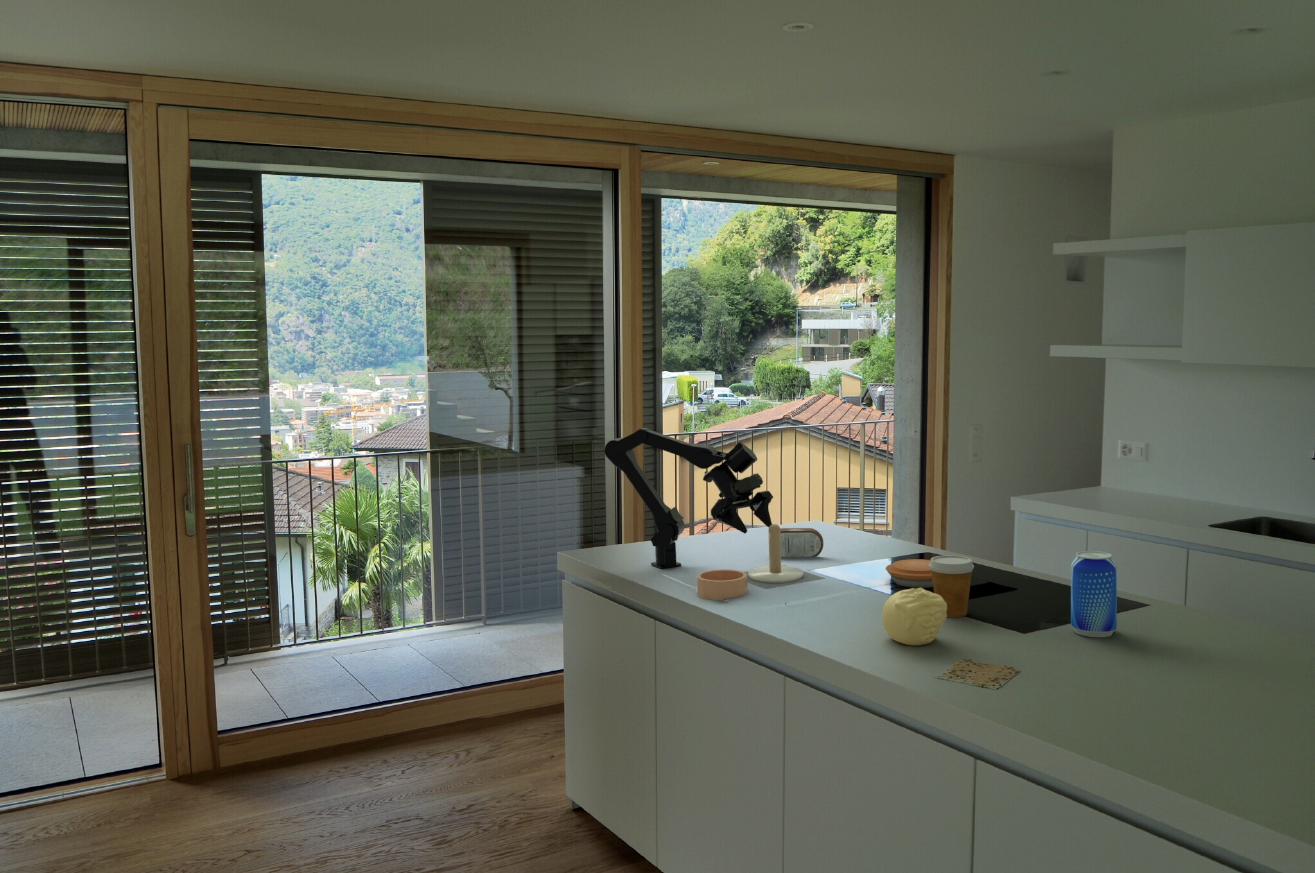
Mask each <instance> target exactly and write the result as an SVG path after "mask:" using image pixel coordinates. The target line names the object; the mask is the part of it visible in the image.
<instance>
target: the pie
mask: <svg viewBox="0 0 1315 873" xmlns="http://www.w3.org/2000/svg"><path fill="white" fill-rule="evenodd" d="M930 561H931V559H922V558H921V559H919V558H918V559H917V558H916V559H915V558H914V559H913V558H911V559H908V558H907V559H901V560H896V561H893V562H892V563H891V564H888V565H886V567H885V571H887V573H888V574H889V576H890V577H891V579H892V580H893V582H894V584H896V585H898V586H901V587H905V588H910V589H912V588H914V589H918V588H923V589H927V588H933V580H932V574H931V570H930V567H929V564H930Z"/></svg>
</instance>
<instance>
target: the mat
mask: <svg viewBox="0 0 1315 873" xmlns="http://www.w3.org/2000/svg"><path fill="white" fill-rule="evenodd" d="M781 566H787V565H786V564H784V565H782V564H781ZM748 571H749V570H748ZM748 571H743V572H744V573H746V574H747V584H751V585H753V586H757V587H759V588H762V589H765V590H767V589H774V588H777V587H784V586H790V585H795V584H796V585H797V584H801V583H807V582H812V581H818V580H824V579H825V580H826V578H825V577H823V576H820V575H818V574H817V575H816V574H814V573H810V572H808V571H804V570H802V571H803V578H802V579H800V580H797V581H793V582H786V583H763V582H757V581H753V580H751V579H749V577H748Z"/></svg>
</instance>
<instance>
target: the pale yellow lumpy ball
mask: <svg viewBox="0 0 1315 873" xmlns="http://www.w3.org/2000/svg"><path fill="white" fill-rule="evenodd" d="M946 611H947V604H946V602H945V601H944V599H943V598H942V597H941V596H940V595H938V594H935V593H934V592H932V591H929V590H926V589H925V588H909V589H902V590H900V591H896V592H895V593H893V594H892V595H891V596H890V597H889V598H887V600H886V602H885V603H884V605H883V609H882V611H881V612H882V613H881V620H882V626H883V628H884V631H885V633H886V635H888V637H889V638H891V639H892V640H894V641H896V642H898V643H900V644H904V645H907V646H923V645H928V644H931V643H932V642H933V641H934V640H935V639H936V638H937V637H938V636H939V634H940V631H941V629H942V627H943V624H944V623H945V622H946V621H947V618H948V617H947V614H946Z"/></svg>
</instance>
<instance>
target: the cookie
mask: <svg viewBox="0 0 1315 873" xmlns="http://www.w3.org/2000/svg"><path fill="white" fill-rule="evenodd" d="M954 662H955V663H953V662H952V663H951V664H953V665H951V666H953V667H949V668H951V669H946V670H947V671H951V672H948V673H949V674H948V673H943V675H946V676H943V675H942V677H948V679H954V680H960V679H961V680H962V679H963V680H964V681H963V682H965V681H966V680H968V679H969V680H970V679H971V680H974V681H966V682H973V683H972V684H978V685H981V686H989V687H990V686H1001V684H1002V682H1004V681H1006V680H1008V679H1010V677H1013V675H1015V676H1016V675H1017V674H1016V673H1018V672H1019V673H1021V669H1017V668H1014V667H1013V666H1007V665H1000V664H993V663H992V664H991V663H986V662H981V661H979V660H978V661H976V660H973V659H966V658H963V659H961V658H958V659H956V660H955V661H954ZM956 662H957V663H956ZM972 671H973V672H972ZM974 671H975V672H974ZM964 673H965V674H964ZM969 673H971V674H969ZM973 673H975V674H973ZM1019 673H1018V674H1019ZM949 675H950V676H949ZM967 675H974V676H967ZM938 677H941V676H938ZM959 677H960V678H959ZM966 677H969V678H966ZM971 677H972V678H971ZM1013 678H1014V677H1013ZM965 679H966V680H965ZM1010 680H1011V679H1010ZM1000 682H1001V683H1000ZM996 684H999V685H996ZM993 688H995V687H993Z"/></svg>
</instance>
